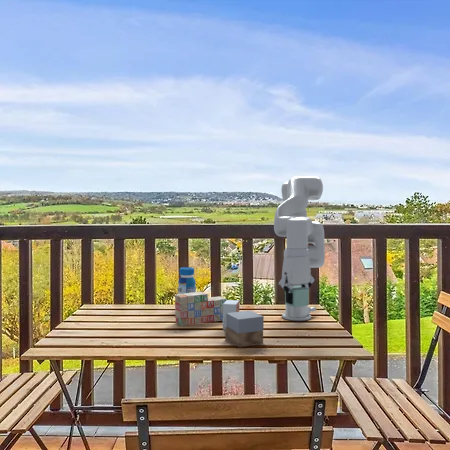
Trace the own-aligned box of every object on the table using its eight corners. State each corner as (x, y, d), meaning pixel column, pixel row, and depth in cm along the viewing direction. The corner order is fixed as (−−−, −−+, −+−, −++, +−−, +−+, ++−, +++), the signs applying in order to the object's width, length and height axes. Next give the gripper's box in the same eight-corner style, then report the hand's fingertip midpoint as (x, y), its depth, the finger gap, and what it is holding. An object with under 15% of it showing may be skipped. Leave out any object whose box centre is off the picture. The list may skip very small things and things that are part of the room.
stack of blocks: (220, 316, 203) (220, 289, 202) (226, 320, 198) (226, 291, 197) (175, 323, 193) (174, 293, 192) (180, 326, 187) (180, 296, 187)
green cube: (298, 301, 170) (298, 285, 169) (308, 305, 165) (308, 288, 164) (285, 303, 167) (285, 287, 167) (295, 307, 162) (295, 290, 161)
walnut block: (248, 336, 173) (248, 323, 173) (263, 343, 165) (263, 330, 164) (225, 340, 169) (225, 327, 168) (238, 348, 160) (238, 333, 160)
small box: (236, 330, 180) (236, 304, 180) (222, 330, 181) (222, 303, 181) (239, 325, 188) (239, 300, 188) (226, 324, 189) (226, 299, 189)
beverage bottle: (195, 312, 210) (195, 269, 209) (177, 312, 211) (176, 269, 210) (196, 308, 219) (196, 266, 218) (179, 308, 219) (178, 266, 218)
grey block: (250, 323, 173) (250, 310, 173) (263, 330, 164) (263, 316, 164) (226, 326, 169) (226, 313, 169) (238, 333, 160) (238, 319, 160)
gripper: (309, 249, 172) (308, 297, 173) (271, 253, 163) (271, 303, 165) (322, 252, 165) (322, 301, 167) (283, 255, 157) (283, 307, 158)
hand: (296, 301), depth 166 cm, fingers closed on green cube, 6 cm apart
